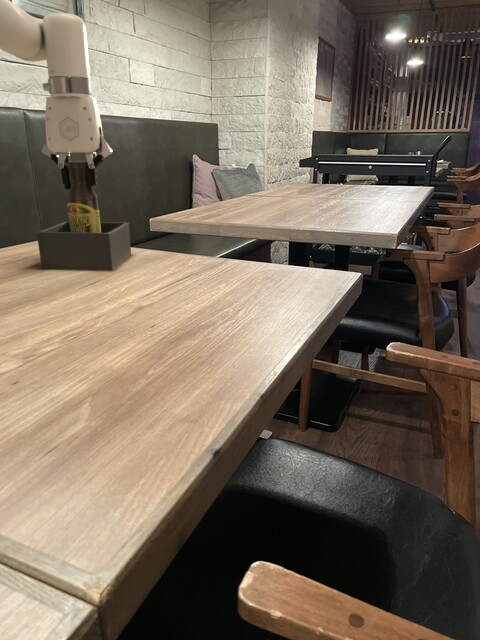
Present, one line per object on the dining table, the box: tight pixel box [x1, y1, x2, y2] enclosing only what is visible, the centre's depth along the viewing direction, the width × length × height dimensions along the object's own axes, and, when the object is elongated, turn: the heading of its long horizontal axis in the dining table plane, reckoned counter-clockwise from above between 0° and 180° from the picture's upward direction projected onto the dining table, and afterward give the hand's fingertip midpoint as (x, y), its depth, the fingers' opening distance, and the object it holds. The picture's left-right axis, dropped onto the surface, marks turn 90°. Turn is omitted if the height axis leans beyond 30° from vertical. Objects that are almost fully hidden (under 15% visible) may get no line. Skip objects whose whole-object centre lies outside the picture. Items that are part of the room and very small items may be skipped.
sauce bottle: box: [66, 160, 101, 233], centre depth 101 cm, size 7×6×20 cm
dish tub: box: [36, 220, 132, 272], centre depth 104 cm, size 15×14×8 cm
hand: (81, 187), depth 100 cm, fingers closed on sauce bottle, 4 cm apart
